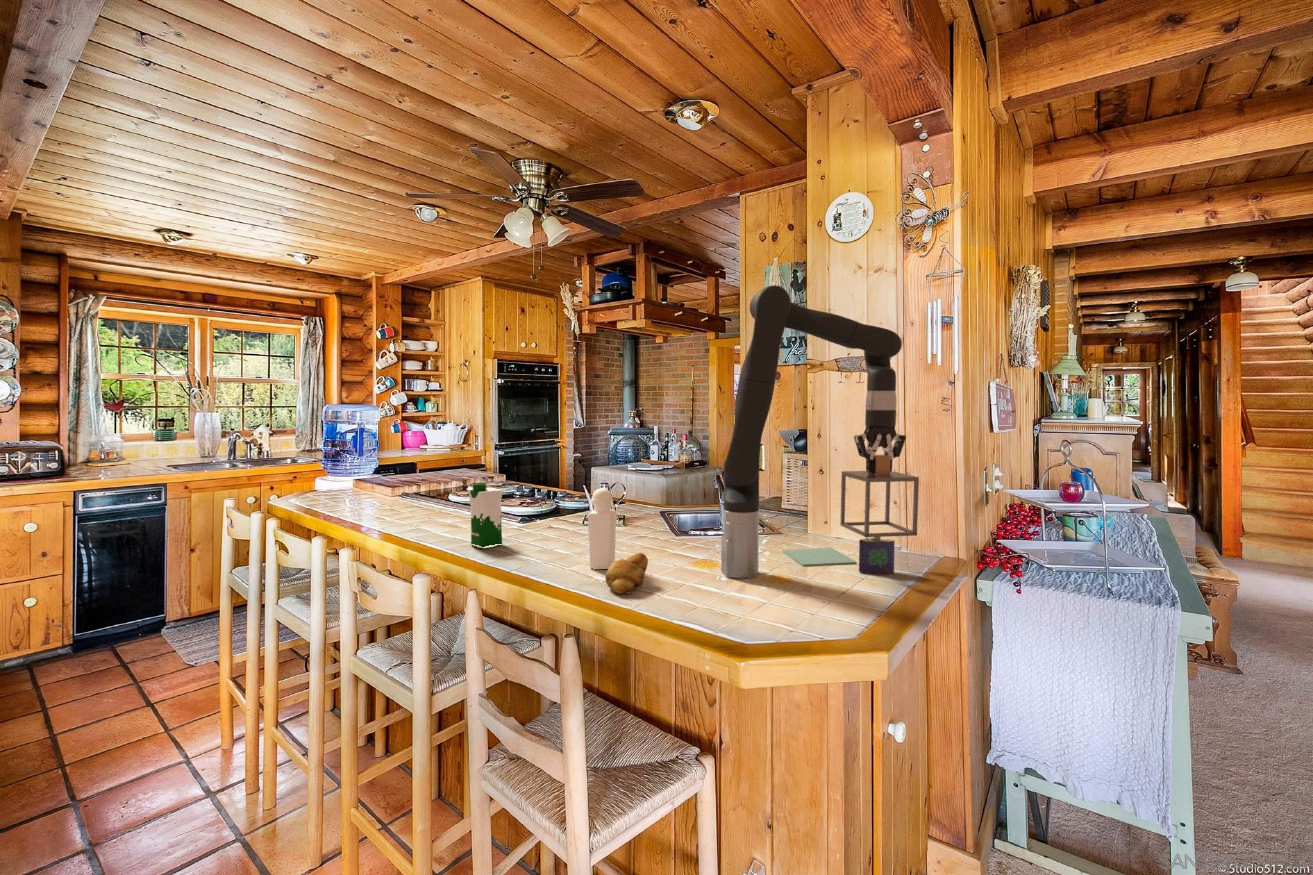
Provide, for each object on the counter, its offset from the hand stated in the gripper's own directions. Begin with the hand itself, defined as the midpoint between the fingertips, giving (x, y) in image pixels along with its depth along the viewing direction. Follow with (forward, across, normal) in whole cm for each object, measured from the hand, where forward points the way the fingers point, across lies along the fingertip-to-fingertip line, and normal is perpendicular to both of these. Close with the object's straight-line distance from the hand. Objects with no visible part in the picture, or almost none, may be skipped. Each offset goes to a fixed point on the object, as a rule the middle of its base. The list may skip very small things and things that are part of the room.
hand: (878, 473), depth 156 cm
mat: (+27, -9, +17) cm, 33 cm away
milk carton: (+28, -107, +47) cm, 120 cm away
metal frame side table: (+15, 0, 0) cm, 15 cm away
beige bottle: (+27, -72, +17) cm, 79 cm away
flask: (+27, 0, 0) cm, 27 cm away
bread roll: (+27, -68, -2) cm, 73 cm away
